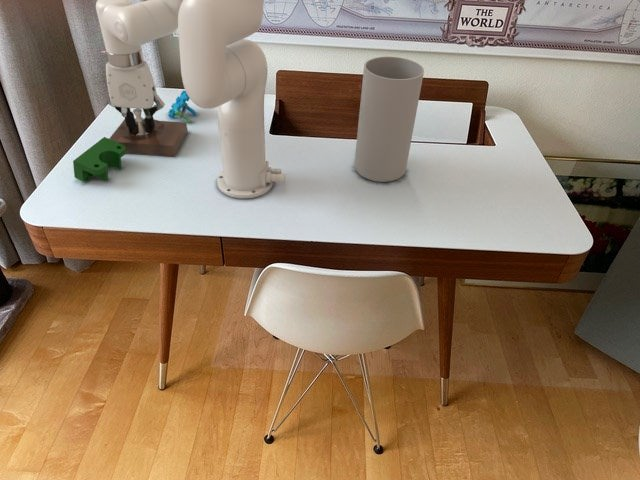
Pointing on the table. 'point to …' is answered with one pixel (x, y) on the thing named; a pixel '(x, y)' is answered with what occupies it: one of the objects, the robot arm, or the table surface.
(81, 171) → the clamp
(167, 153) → the pad
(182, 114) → the blue slotted cogwheel
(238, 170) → the robot arm
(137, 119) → the chess piece
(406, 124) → the cylinder vase
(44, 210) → the table surface
